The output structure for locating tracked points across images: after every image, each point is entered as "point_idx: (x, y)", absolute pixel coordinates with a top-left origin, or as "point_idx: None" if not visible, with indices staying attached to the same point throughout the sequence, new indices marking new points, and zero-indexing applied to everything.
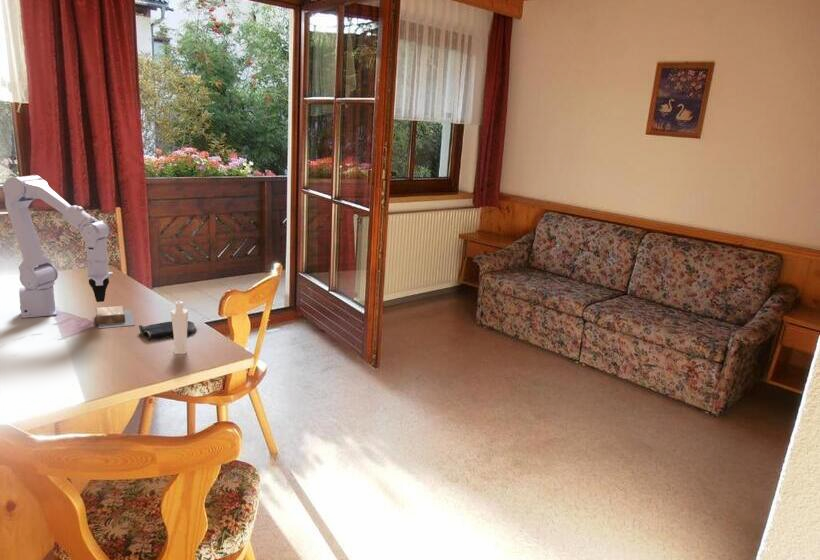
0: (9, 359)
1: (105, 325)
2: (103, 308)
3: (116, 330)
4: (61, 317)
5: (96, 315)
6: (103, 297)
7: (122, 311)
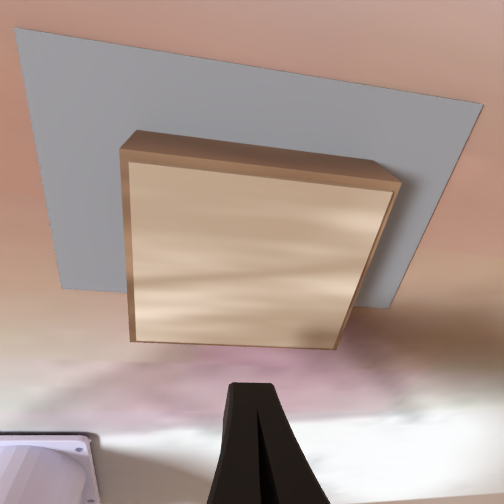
0: (480, 491)
1: (365, 278)
2: (168, 306)
3: (478, 233)
4: (121, 418)
5: (305, 347)
6: (284, 427)
7: (318, 189)
